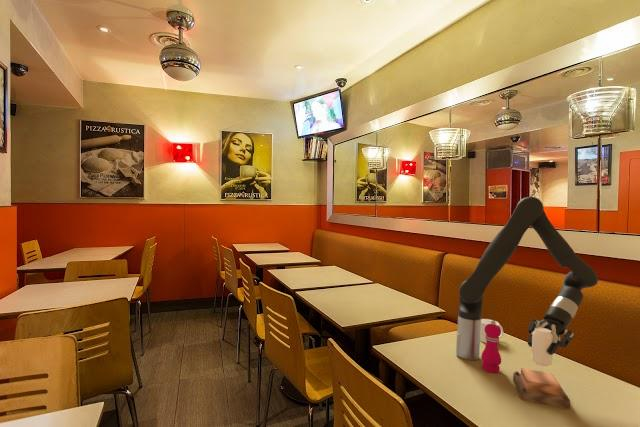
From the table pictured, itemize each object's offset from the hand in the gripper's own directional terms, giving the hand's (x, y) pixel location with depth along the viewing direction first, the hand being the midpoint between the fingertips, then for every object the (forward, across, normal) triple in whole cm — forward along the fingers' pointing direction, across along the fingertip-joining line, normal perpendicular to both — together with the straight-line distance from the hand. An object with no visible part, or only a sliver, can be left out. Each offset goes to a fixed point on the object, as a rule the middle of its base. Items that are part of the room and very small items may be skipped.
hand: (539, 349), depth 120 cm
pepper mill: (+11, -19, +12) cm, 25 cm away
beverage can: (+3, 0, +5) cm, 6 cm away
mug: (-8, -40, +31) cm, 52 cm away
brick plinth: (+10, 0, +12) cm, 16 cm away
